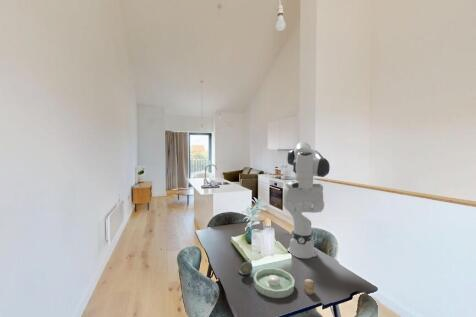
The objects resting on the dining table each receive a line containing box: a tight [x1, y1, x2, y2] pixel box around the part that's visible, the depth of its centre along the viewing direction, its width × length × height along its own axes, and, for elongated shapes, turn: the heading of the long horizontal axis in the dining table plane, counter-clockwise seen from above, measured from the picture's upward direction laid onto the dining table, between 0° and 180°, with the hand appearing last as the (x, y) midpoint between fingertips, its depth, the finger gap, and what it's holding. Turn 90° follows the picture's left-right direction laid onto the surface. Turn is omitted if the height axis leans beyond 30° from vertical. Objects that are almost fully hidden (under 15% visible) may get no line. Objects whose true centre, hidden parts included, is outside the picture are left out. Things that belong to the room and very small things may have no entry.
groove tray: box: [252, 267, 296, 299], centre depth 116 cm, size 20×20×4 cm
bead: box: [303, 278, 315, 296], centre depth 111 cm, size 4×4×5 cm
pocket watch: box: [238, 257, 253, 276], centre depth 126 cm, size 8×8×10 cm
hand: (302, 210), depth 116 cm, fingers open, 8 cm apart
